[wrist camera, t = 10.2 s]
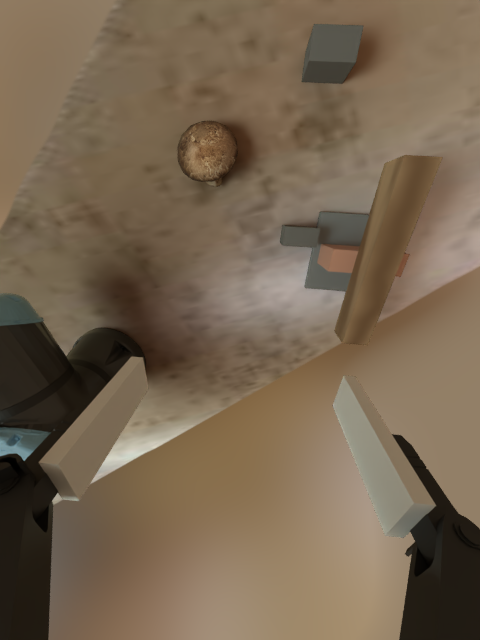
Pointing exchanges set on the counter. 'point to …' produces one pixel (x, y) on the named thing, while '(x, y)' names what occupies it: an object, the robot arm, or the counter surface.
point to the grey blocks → (324, 67)
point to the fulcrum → (337, 251)
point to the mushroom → (207, 152)
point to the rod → (384, 243)
